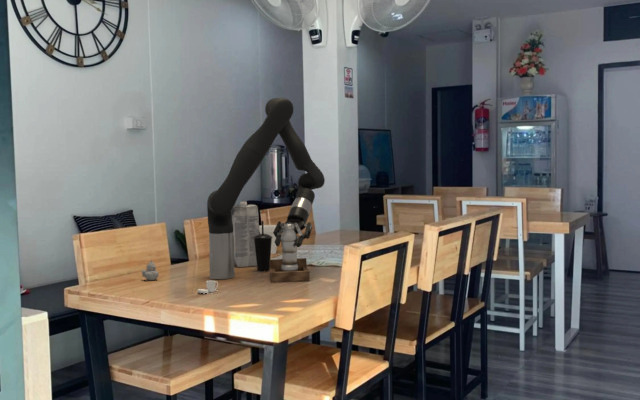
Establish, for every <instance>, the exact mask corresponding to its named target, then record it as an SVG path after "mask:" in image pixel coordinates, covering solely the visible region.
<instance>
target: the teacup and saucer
mask: <svg viewBox="0 0 640 400" xmlns="http://www.w3.org/2000/svg"><path fill="white" fill-rule="evenodd" d="M205 282H206V283H205V284H206V289H205V288H198V289H197V290H196V291H197V293H199V294H201V293H203V294H202V295H206V294H205V293H207V294H209V293H210V292H211V293H215V291H217V290H216V289H217V288H218V287H219V281H217V280H215V279H214V280H213V279H211V280H210V279H209V280H206V281H205ZM216 283H217V285H216Z"/></svg>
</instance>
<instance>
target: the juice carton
mask: <svg viewBox="0 0 640 400" xmlns="http://www.w3.org/2000/svg"><path fill="white" fill-rule="evenodd" d="M259 216H260V215H259V206H258V205H256V204H253V203H250V204H248V202H247V201H239V204H235V205H234V207H233V209H232V222H233V233H234V266H236V267H238V268H248V267H257V261H256V252H255V242H254V238H253V237H254V236H256V235H258V234H260V231H259V226H260V224H259V223H260V221H259V218H260V217H259Z"/></svg>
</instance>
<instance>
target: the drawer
mask: <svg viewBox="0 0 640 400" xmlns="http://www.w3.org/2000/svg"><path fill="white" fill-rule="evenodd" d="M297 264H298V271H286V272H281V266H282V258H270V270H269V279H270V283H272V284H273V283H296V282H297V283H298V282H310V270H309V268H308V267H307V258H305V257H300V258H298V257H297Z"/></svg>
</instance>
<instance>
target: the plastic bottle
mask: <svg viewBox="0 0 640 400" xmlns="http://www.w3.org/2000/svg"><path fill="white" fill-rule="evenodd" d="M284 229H285V231H284V232H283V233H282V236H281V242H280V244H281V252H282V253H281V256H282V257H281V259H282V266H281V272H286V271H298V264H297V258H298V257H297V254H298V253H297V252H298V251H297V250H298V247H297V246H296V242H297V239H298V237H299V235H298V234H296V233H295V231H294V224H292V223H287V224H284Z"/></svg>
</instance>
